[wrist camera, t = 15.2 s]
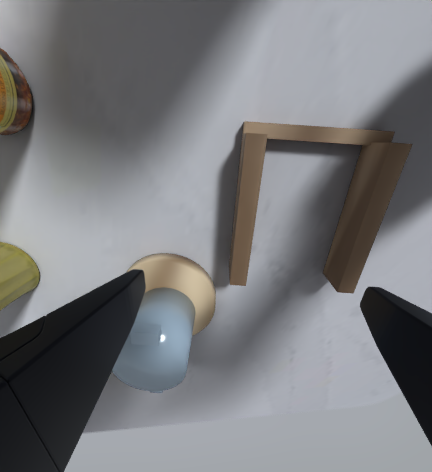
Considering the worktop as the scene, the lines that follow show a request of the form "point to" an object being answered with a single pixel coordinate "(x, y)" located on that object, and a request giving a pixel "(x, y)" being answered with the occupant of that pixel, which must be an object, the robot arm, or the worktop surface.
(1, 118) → the sauce bottle
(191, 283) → the disc
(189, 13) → the worktop surface
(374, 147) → the cradle
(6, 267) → the vase
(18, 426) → the robot arm
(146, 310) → the jug
